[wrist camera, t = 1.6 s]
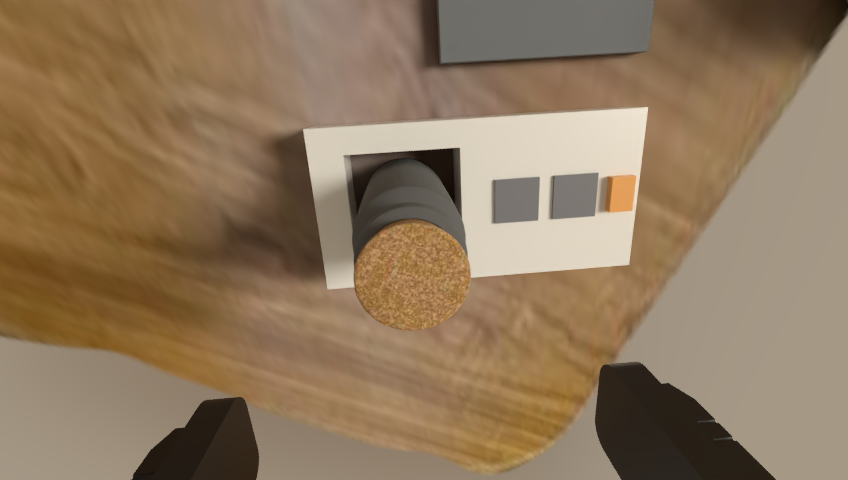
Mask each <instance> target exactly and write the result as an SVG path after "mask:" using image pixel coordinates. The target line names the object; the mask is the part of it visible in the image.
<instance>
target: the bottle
mask: <svg viewBox="0 0 848 480" xmlns="http://www.w3.org/2000/svg"><path fill="white" fill-rule="evenodd" d="M352 246H353V252H354V279H353V280H354V287H355V291H356V295H357V297H358V299H359V301H360V303H361V305H362V306H363V308H364V309H365V310H366V311H367V312H368V313H369V314H370V315H371V316H372V317H373V318H374V319H376V320H377V321H379V322H381V323H382V324H384V325H387V326H389V327H392V328H395V329H400V330H410V331H412V330H422V329H426V328H430V327H433V326H436V325H438V324H440V323H442V322H443V321H445V320H447V319H448V318H449V317H451V316H452V315H453V314H454V313H455V312H456V311H457V310H458V309H459V307H460V306H461V305H462V303H463V302H464V300H465V298H466V296H467V293H468V291H469V288H470V281H471V270H470V264H469V260H468V252H467V247H466V234H465V228H464V224H463V221H462V218H461V216H460V214H459V212H458V210H457V208H456V206H455V204H454V203H453V201H452V199H451V197H450V196H449V194H448V192H447V191H446V189H445V187H444V185H443V184H442V182H441V180H440V179H439V177H438V176H437V174H436V173H435V172H434V171H433V170H432V169H431V168H430V167H429V166H427V165H426V164H424V163H422V162H420V161H417V160H414V159H407V158H403V159H396V160H393V161H389V162H387V163H386V164H384V165H382V166H381V167H380V168H379V169H378V170H377V171H376V172H375V173H374V174H373V176H372V177H371V179H370V181H369V183H368V186H367V188H366V191H365V194H364V196H363V199H362V202H361V205H360V208H359V211H358V214H357V217H356V220H355V223H354V227H353V233H352Z"/></svg>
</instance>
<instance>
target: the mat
mask: <svg viewBox="0 0 848 480" xmlns="http://www.w3.org/2000/svg"><path fill="white" fill-rule="evenodd" d="M654 2H655V0H437V24H438V48H439V65H442V64H459V63H477V62H494V61H511V60H529V59H546V58H563V57H581V56H598V55H615V54H633V53H642V52H646V51H649V44H650V36H651V27H652V19H653V10H654Z"/></svg>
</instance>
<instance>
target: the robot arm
mask: <svg viewBox="0 0 848 480" xmlns="http://www.w3.org/2000/svg"><path fill="white" fill-rule="evenodd" d="M595 425H596V431H597V435H598V438H599V441H600V443H601V445H602V448H603V450H604V451H605V453H606V455H607V456H608V458H609V459H610V461H611V463H612V465H613V466H614V468H615V470H616V471H617V473H618V475H619V476H620V478H621V480H776V479H775V478H774V477H773V476H772V475H771V474H770V473H769V472H768V471H767V470H766V469H765V468H764V467H763V466H762V465H761V464H759V462H758V461H757V460H756V459H754V458H753V456H752V455H750V454H749V453H748V452H747V451H746V450H745V449H744V448H743V447H742V446H741V445H740V444H739V443H738V442H737V441H734V440H733V439H732V436H731V435H730V434H729V433H728V432H727V431H726V430H725V429H724V428H723V427H722V426H721V425H720V424H719V423H716V422H715V419H714V418H713V417H712V416H711V415H710V414H709V413H708V412H707V411H706V410H705V409H704V408H703V407H702V406H701V405H700V404H699V403H698V402H697V401H696V400H695V399H694V398H692V397H690V396H689V395H687V394H685V393H684V392H682V391H680V390H679V389H677V388H675V387H674V386H672V385H670V384H669V383H666V384H661V383H660V382H659V381H658V380H657V379H656V378H655V377H654V376H653V374H652V373H651V372H650V371H649V370H648V369H647V368H646V367H645V366H644V365H643V364H641V363H639V362H628V363H618V364H607V365H603V366H602V368H601V370H600V376H599V386H598V395H597V406H596V415H595ZM258 465H259V453H258V448H257V444H256V440H255V436H254V432H253V428H252V424H251V420H250V417H249V412H248V408H247V405H246V402H245V400H244V399H243V398H242V397H235V398H224V399H214V400H206V401H203V402H202V403H201V404H200V405H199V407H198V408H197V410H196V411H195V413H194V414H193V416H192V417H191V419H190V420H189V422H188V423H187V425H186V426H185V428H176V429H175V430H173V431H172V432H171V433H170V434H169V435H168V436H166V437H165V438H164V439H163V440H162V441H161V442H160V443H159V444H157V445H156V446H155V447H154V448H153V449H151V451H150V452H149V453H148V455H147V456H146V458H145V459H144V460H143V462H142V463H141V465H140V466H139V467H138V469H137V470H136V472H135V473H134V474H133V479H132V480H256V478H257V473H258Z"/></svg>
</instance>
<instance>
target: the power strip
mask: <svg viewBox="0 0 848 480" xmlns="http://www.w3.org/2000/svg"><path fill="white" fill-rule="evenodd" d="M647 113H648V107H608V108H592V109H577V110H561V111H545V112H530V113H514V114H498V115H482V116H467V117H451V118H435V119H420V120H404V121H388V122H372V123H357V124H341V125H325V126H313V127H309V128H306V129H303V132H304V139H305V145H306V152H307V158H308V165H309V171H310V178H311V184H312V191H313V197H314V204H315V210H316V217H317V223H318V230H319V236H320V243H321V249H322V256H323V262H324V269H325V275H326V282H327V288H328V289H338V288H350V287H354V280H353V279H354V252H353V246H352V233H353V227H354V223H355V220H356V217H357V210H356V202H355V193H354V185H353V176H352V168H351V160H350V155H357V154H372V153H386V152H401V151H416V150H431V149H446V148H453V165H454V195H455V206H456V208H457V210H458V212H459V214H460V216H461V218H462V221H463V224H464V228H465V234H466V247H467V252H468V260H469V264H470V270H471V278H473V277H485V276H497V275H510V274H522V273H534V272H546V271H559V270H571V269H583V268H595V267H608V266H620V265H629V260H630V252H631V244H632V235H633V227H634V219H635V211H636V203H637V194H638V186H639V178H640V170H641V162H642V153H643V145H644V137H645V129H646V121H647Z"/></svg>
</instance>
